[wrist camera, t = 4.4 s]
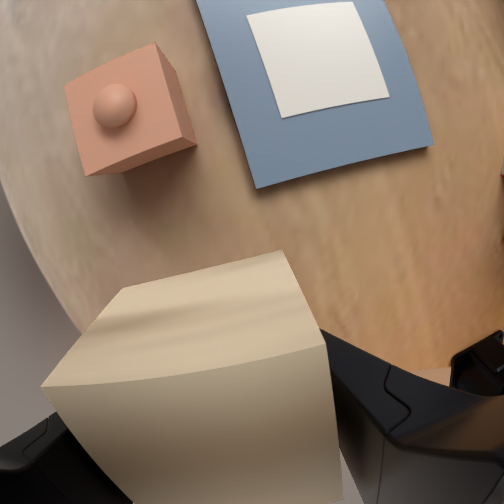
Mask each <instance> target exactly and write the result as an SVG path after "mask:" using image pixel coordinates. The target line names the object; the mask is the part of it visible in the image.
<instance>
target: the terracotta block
mask: <svg viewBox="0 0 504 504" xmlns="http://www.w3.org/2000/svg"><path fill="white" fill-rule="evenodd" d="M64 89H65V94H66V99H67V104H68V109H69V114H70V118H71V123H72V127H73V131H74V135H75V139H76V143H77V147H78V151H79V155H80V159H81V162H82V166H83V169H84V173H85V176H93V175H103V174H114V173H123V172H125V171H127V170H130V169H132V168H135V167H137V166H140V165H142V164H145V163H148V162H150V161H153V160H156V159H158V158H161V157H164V156H166V155H169V154H172V153H175V152H177V151H180V150H183V149H186V148H189V147H192V146H195V145H197V141H196V138H195V135H194V131H193V128H192V125H191V122H190V118H189V115H188V112H187V108H186V105H185V102H184V98H183V95H182V92H181V88H180V85H179V81H178V78H177V75H176V71H175V70H174V68H173V67H172V65H171V64H170V62H169V61H168V60H167V58H166V57H165V56H164V54H163V53H162V51H161V50H160V49H159V47H158V46H157V44H156V43H155V42H154V43H151V44H149V45H146V46H144V47H141V48H139V49H137V50H134V51H132V52H130V53H127V54H125V55H123V56H121V57H118V58H116V59H114V60H112V61H110V62H108V63H106V64H104V65H101V66H99V67H97V68H95V69H94V70H92V71H90V72H88V73H86V74H84V75H82V76H80V77H78V78H77V79H75V80H73V81H71V82H69V83H68V84H66V85H64Z"/></svg>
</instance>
